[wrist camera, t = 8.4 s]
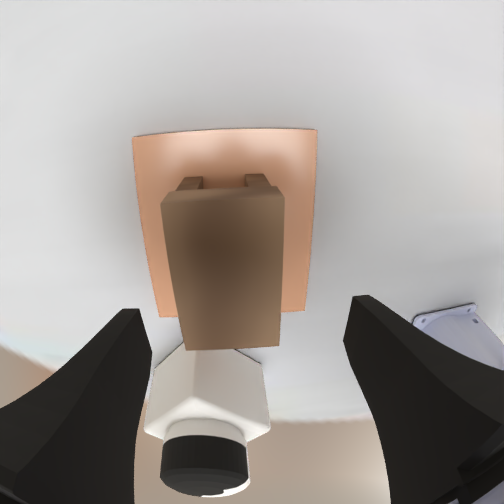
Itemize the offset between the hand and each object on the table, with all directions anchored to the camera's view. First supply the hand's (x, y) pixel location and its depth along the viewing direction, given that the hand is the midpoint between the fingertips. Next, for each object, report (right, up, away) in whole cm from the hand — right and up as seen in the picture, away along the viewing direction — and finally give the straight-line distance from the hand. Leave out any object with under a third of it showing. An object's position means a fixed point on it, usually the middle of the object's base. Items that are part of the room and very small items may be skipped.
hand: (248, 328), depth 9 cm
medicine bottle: (-4, -8, +15) cm, 18 cm away
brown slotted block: (-1, +4, +9) cm, 10 cm away
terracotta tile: (-1, +4, +10) cm, 10 cm away
